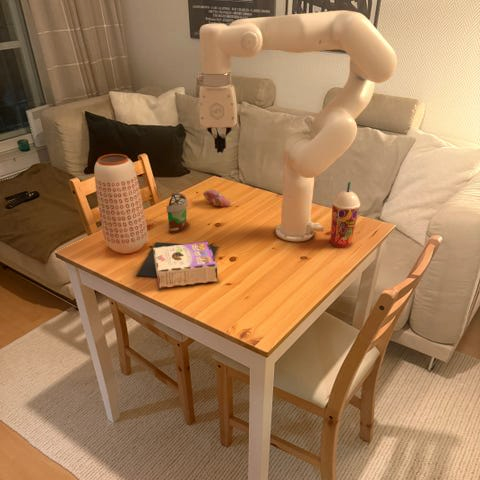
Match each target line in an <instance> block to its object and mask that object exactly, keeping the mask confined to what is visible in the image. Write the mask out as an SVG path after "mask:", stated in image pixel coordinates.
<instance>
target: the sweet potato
mask: <svg viewBox="0 0 480 480" xmlns="http://www.w3.org/2000/svg"><path fill="white" fill-rule="evenodd" d="M203 197H204V198H205V199H206V200H207V201H209V203H210V204H212V205H216V206H217V207H221V206H224V207H230V206H231V201H230V199H228V198H226V196H225V195H224V194H222V193H220V192H219V191H217V190H215V189H210V188H208V189H207V190H205V191H204V192H203Z"/></svg>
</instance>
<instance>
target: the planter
mask: <svg viewBox="0 0 480 480" xmlns="http://www.w3.org/2000/svg"><path fill="white" fill-rule="evenodd" d="M93 172H94V182H95V191H96V199H97V205H98V212H99V217H100V223H101V229H102V234H103V238H104V241H105V243H106V245H107V246H108V247H109V248H110V249H111V250H112V251H114V252H115V253H117V254H119V255H132V254H135V253H136V254H137V253H138V252H139V251H141V250H142V249H143V247H144V246H145V244H146V242H147V240H148V227H147V219H146V215H145V208H144V202H143V197H142V192H141V188H140V183H139V179H138V175H137V171H136V168H135V164H134V163H133V161H132V160H131V158H129V157H128V156H127V155H125V154H122V153H109V154H104V155H102V156H99V157H98V159H97V160H96V162H95V165H94V170H93Z"/></svg>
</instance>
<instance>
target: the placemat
mask: <svg viewBox="0 0 480 480" xmlns="http://www.w3.org/2000/svg"><path fill="white" fill-rule="evenodd" d="M182 244H183V243H170V242H169V243H167V242H155V243H154V245H153V247H152V248H151V250H150V252H149V254H148V255H147V257H146V259H145V261H144V262H143V264H142V265H141V267H140V269H139V270H138V272H137V274H136V277H141V278H142V277H143V278H154V279H155V278H156V279H158V277H157V273H156V267H155V260H154V251H153V248H156V247H165V246H173V245H182ZM209 246H210V248H211V251H212V253H213V256H214V257H215V254H216V251H217V250H218V246H216V245H209Z"/></svg>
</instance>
